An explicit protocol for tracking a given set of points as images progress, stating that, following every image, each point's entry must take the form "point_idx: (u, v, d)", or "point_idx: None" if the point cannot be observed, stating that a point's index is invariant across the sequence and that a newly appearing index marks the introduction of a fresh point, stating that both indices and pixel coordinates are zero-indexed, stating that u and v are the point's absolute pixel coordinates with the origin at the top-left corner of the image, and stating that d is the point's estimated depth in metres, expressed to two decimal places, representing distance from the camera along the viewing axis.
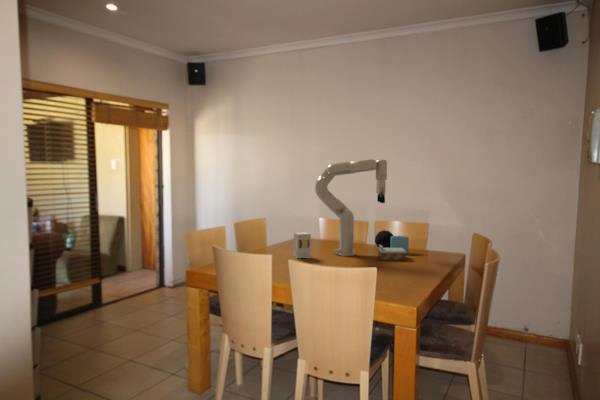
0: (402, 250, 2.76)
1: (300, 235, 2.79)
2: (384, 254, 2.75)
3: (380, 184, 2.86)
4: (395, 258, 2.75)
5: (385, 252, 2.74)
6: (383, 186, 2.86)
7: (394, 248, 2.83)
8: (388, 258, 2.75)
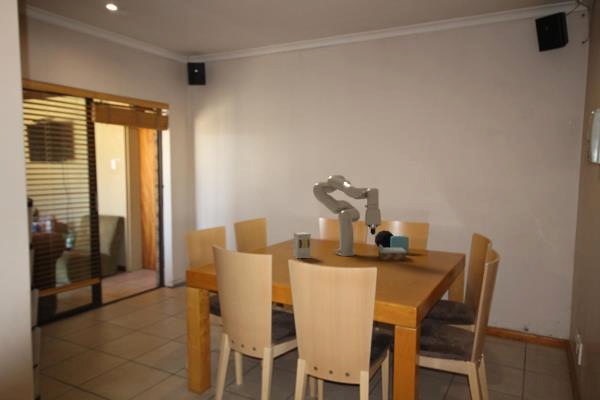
0: (402, 250, 2.76)
1: (300, 235, 2.79)
2: (384, 254, 2.75)
3: (380, 213, 2.77)
4: (395, 258, 2.75)
5: (385, 252, 2.74)
6: None
7: (394, 248, 2.83)
8: (388, 258, 2.75)
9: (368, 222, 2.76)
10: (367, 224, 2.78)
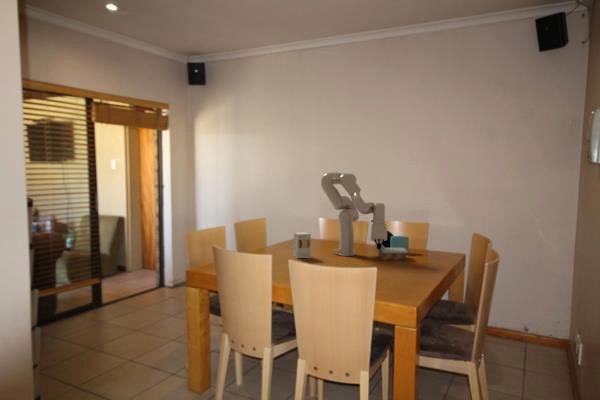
0: (404, 250, 2.76)
1: (300, 235, 2.79)
2: (384, 254, 2.75)
3: (386, 228, 2.77)
4: (395, 258, 2.75)
5: (387, 252, 2.74)
6: None
7: (396, 248, 2.83)
8: (388, 258, 2.75)
9: (374, 237, 2.77)
10: (373, 239, 2.79)
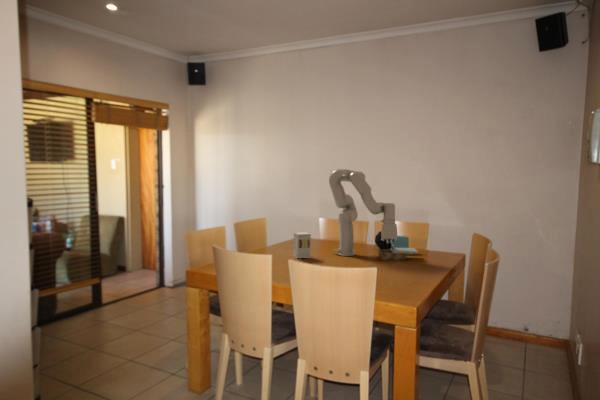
0: (414, 250, 2.76)
1: (300, 235, 2.79)
2: (384, 254, 2.75)
3: (396, 228, 2.77)
4: (395, 258, 2.75)
5: (397, 252, 2.74)
6: None
7: (406, 248, 2.83)
8: (388, 258, 2.75)
9: (384, 237, 2.77)
10: (383, 239, 2.79)
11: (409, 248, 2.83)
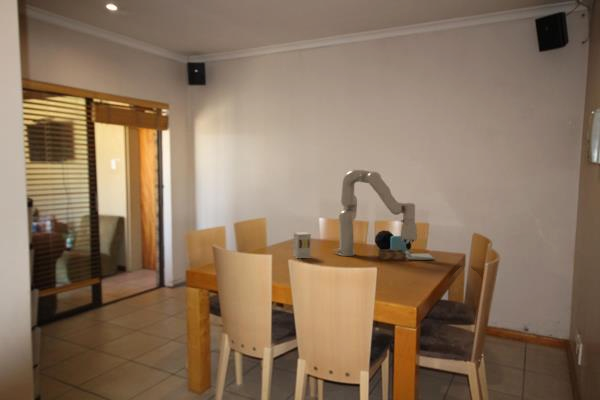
0: (429, 256, 2.76)
1: (300, 235, 2.79)
2: (384, 254, 2.75)
3: (416, 228, 2.77)
4: (395, 258, 2.75)
5: (412, 258, 2.74)
6: None
7: (420, 254, 2.83)
8: (388, 258, 2.75)
9: (404, 237, 2.76)
10: (403, 239, 2.79)
11: (423, 254, 2.84)
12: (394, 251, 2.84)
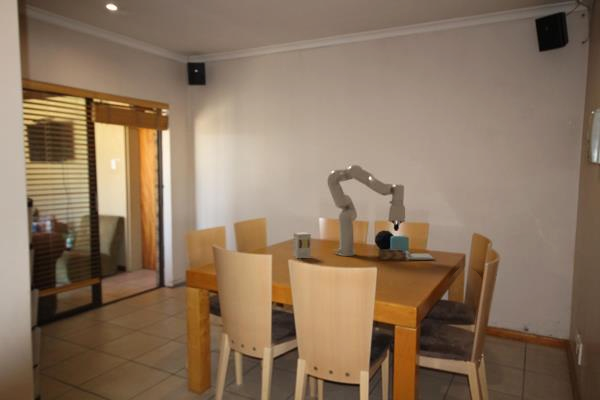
0: (429, 256, 2.76)
1: (300, 235, 2.79)
2: (384, 254, 2.75)
3: (404, 210, 2.77)
4: (395, 258, 2.75)
5: (412, 258, 2.74)
6: None
7: (420, 254, 2.83)
8: (388, 258, 2.75)
9: (392, 218, 2.76)
10: (391, 220, 2.78)
11: (423, 254, 2.84)
12: (394, 251, 2.84)
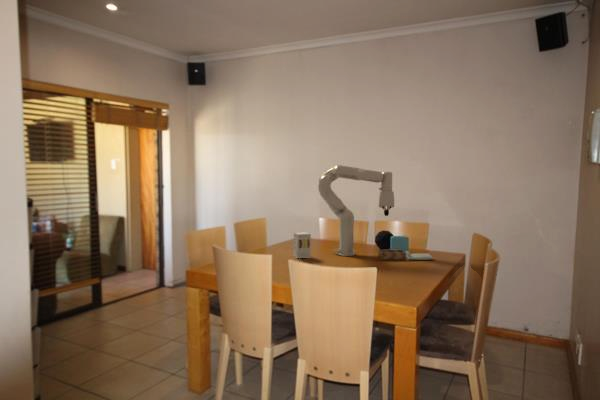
0: (429, 256, 2.76)
1: (300, 235, 2.79)
2: (384, 254, 2.75)
3: (393, 196, 2.92)
4: (395, 258, 2.75)
5: (412, 258, 2.74)
6: None
7: (420, 254, 2.83)
8: (388, 258, 2.75)
9: (382, 204, 2.91)
10: (381, 206, 2.93)
11: (423, 254, 2.84)
12: (394, 251, 2.84)
